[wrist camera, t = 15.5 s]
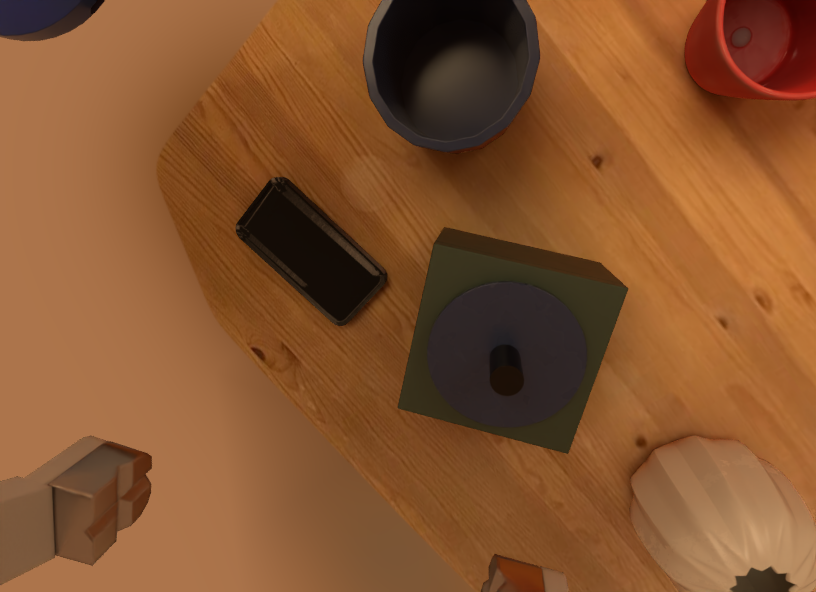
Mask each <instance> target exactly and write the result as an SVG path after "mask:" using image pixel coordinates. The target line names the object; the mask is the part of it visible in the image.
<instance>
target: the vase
mask: <svg viewBox="0 0 816 592" xmlns="http://www.w3.org/2000/svg"><path fill="white" fill-rule="evenodd" d="M630 482H631V486H632V490H633V493H634V496H633V499H632V503H631V506H630V517H631V521H632V524H633V526H634V529H635V531H636V533H637V535H638V536H639V538H640V540H641V542H642V543H643V545H644V546H645V548H646V549H647V550H648V552H649V553H650V555H651V556H652V558H653V559H654V560H655V561H656V563H657V564H658V565H659V566H660V567H661V569H663V570H664V571H665V573H666V574H667V576H668V577H669V578H670V580H671V581H672V583H673V584H674V586H675V587H676V588H677V589H678V591H679V592H812V591H813V590H814V589H815V587H816V525H815V522H814V520H813V517H812V515H811V513H810V511H809V509H808V508H807V506H806V504H805V503H804V501H803V499H802V497H801V496H800V494H799V493H798V491H797V490H796V489H795V487H794V486H793V484H792V483H791V482H790V480H789V479H788V478H787V477H786V476H785V475H784V474H783V473H782V472H781V471H780V470H778V469H777V468H776V467H774V466H773V465H771V464H770V463H769V462H766V461H764V460H762V459H759V458H757V457H756V456H755V455H754V454H753V453H752V452H751V450H750V449H749V448H748V447H747V446H745V445H744V444H743V443H741V442H740V441H739V440H726V439H706V438H703V437H700V436H695V435H693V436H690V437H686V438H683V439H680V440H677V441H674V442H672V443H668V444H666V445H663V446H661V447H659V448H657V449H655V450H653V452H652V453H651V454H650V456H649V457H648V459H647V460H646V461H645V462H644V463H643V464H642V465H641V466H640V467H639V468H638V470H637V471H636V472H635V473H634V474H633V476H632V477H631V478H630Z"/></svg>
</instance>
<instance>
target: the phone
mask: <svg viewBox="0 0 816 592" xmlns="http://www.w3.org/2000/svg"><path fill="white" fill-rule="evenodd" d="M236 233H237V235H238V237H239V238H240V239H241V240H242V241H243V242H244V243H246V244H247V245H248V246H249V247H250V248H251V249H252V250H253V251H254V252H255V253H257V254H258V255H259V256H260V257H261V258H262V259H263V260H264V261H265V262H266V263H268V264H269V265H270V266H271V267H272V268H273V269H274V270H275V271H276V272H277V273H278V274H280V275H281V276H282V277H283V278H284V279H285V280H286V281H287V282H288V283H289V284H291V285H292V286H293V287H294V288H295V289H296V290H297V291H298V292H299V293H300V294H301V295H303V296H304V297H305V298H306V299H307V300H308V301H309V302H310V303H311V304H312V305H314V306H315V307H316V308H317V309H318V310H319V311H320V312H321V313H322V314H323V315H324V316H326V317H327V318H328V319H329V320H330V321H331V322H332V323H334V324H335V325H338V326H343V325H346V324H347V323H348V322H349V321H350V320H351V319H352V318H353V317H354V316H355V315H356V314H357V313H358V312H359V311H360V310H361V309H362V307H363V306H364V305H365V304H366V303H367V302H368V301H369V300H370V299H371V298H372V297H373V296H374V295H375V294H376V293H377V292H378V291H379V290H380V288H381V287H382V286H383V285H384V284H385V282H386V280H387V273H386V271H385V270H384V268H383V267H382V266H381V265H379V264H378V263H377V262H376V261H375V260H374V259H373V258H372V257H371V256H370V255H369V254H368V253H367V252H366V251H364V250H363V249H362V248H361V247H360V246H359V245H358V244H357V243H356V242H355V241H354V240H353V239H352V238H351V237H350V236H348V235H347V234H346V233H345V232H344V231H343V230H342V229H341V228H340V227H339V226H338V225H337V224H336V223H335V222H333V221H332V220H331V219H330V218H329V217H328V216H327V215H326V214H325V213H324V212H323V211H322V210H321V209H320V208H318V207H317V206H316V205H315V204H314V203H313V202H312V201H311V200H310V199H309V198H308V197H307V196H306V195H305V194H304V193H302V192H301V191H300V190H299V189H298V188H297V187H296V186H295V185H294V184H293V183H292V182H291V181H290V180H288V179H287V178H284V177H276V178H272V179H271V180H270V181H269V182H268V183H267V184H266V186H265V187H264V188H263V190H262V191H261V192H260V193H259V195H258V196H257V197H256V199H255V200H254V201H253V203H252V204H251V205H250V207H249V208H248V209H247V211H246V212H245V213H244V214H243V216H242V217H241V218H240V220H239V221H238V222H237V224H236Z"/></svg>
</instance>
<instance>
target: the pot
mask: <svg viewBox="0 0 816 592" xmlns="http://www.w3.org/2000/svg"><path fill="white" fill-rule="evenodd" d="M535 18H536V17H535V15H534V13H533V11H532V10H531V8H530V6H529V4H528V2H527V1H526V0H382V1H381V3H380V4H379V6H378V8H377V10H376V12H375V14H374V15H373V17H372V19H371V21H370V23H369V25H368V30H367V36H366V43H365V49H364V56H363V66H364V71H365V76H366V81H367V86H368V92H369V96H370V99H371V101H372V102H373V104H374V105H375V107H376V108H377V110H378V112H379V113H380V115H381V116H382V118H383V120H384V121H385V123H386V124H387V126H388V127H389V128H391V129H392V130H393V131H395V132H396V133H398V134H399V135H400V136H402V137H403V138H405V139H406V140H407V141H409V142H410V143H412V144H413V145H415V146H419V147H423V148H428V149H433V150H437V151H442V152H447V153H453V154H459V153H464V152H469V151H473V150H478V149H482V148H483V147H485V146H486V145H488V144H489V143H491V142H492V141H494V140H495V139H497V138H498V137H500V136H501V135H503V134H504V132H505V131H506V130H507V128H508V127H509V125H510V124H511V122H512V121H513V120H514V118H515V117H516V115H517V114H518V112H519V111H520V110H521V108H522V107H523V105H524V104H525V102H526V101H527V99H528V98H529V96H530V94H531V91H532V87H533V83H534V80H535V76H536V72H537V68H538V64H539V60H540V49H539V40H538V31H537V22H536V19H535Z"/></svg>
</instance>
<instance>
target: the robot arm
mask: <svg viewBox="0 0 816 592" xmlns="http://www.w3.org/2000/svg"><path fill="white" fill-rule="evenodd" d="M151 468H152V457H151V456H150V455H149V454H147V453H145V452H142V451H138V450H136V449H132V448H129V447H126V446H123V445H120V444H117V443H114V442H109V441H106V440H103V439H100V438H96V437H94V436H88V437H83V438H82V439H80V440H79V441H77V442H76V443H75V444H73V445H71V446H70V447H68V448H67V449H66V450H64V451H63V452H61V453H60V454H58V455H57V456H55V457H54V458H52V459H51V460H50V461H48V462H47V463H45V464H44V465H42V466H41V467H40V468H38V469H37V470H35V471H34V472H32V473H31V474H29V475H28V476H26V477H25V478H21V477H18V476H17V477H14V478H10V479H7V480H3V481H0V585H2V584H4V583H6V582H8V581H10V580H12V579H13V578H16V577H18V576H20V575H21V574H24V573H25V572H27V571H29V570H31V569H33V568H35V567H37V566H39V565H41V564H43V563H45V562H47V561H49V560H51V559H53V558H55V555H57V556H60V557H64V558H67V559H71V560H74V561H78V562H81V563H85V564H89V565H93V564H94V563H95V562H96V561H97V560H98V559H99V558H100V557H101V556H102V555H103V554H104V553H105V552H106V551H107V550H108V549H109V548H110V547H111V546H112V545H113V544H114V543H115V542H116V538H117V531H120V530H122V529H124V528H127V527H129V526H131V525H132V524H133V523H134V522H135V521H136V520H137V519H138V518H139V517H140V515H141V514H142V512H143V510H144V509H145V507H146V505H147V503H148V500H149V497H150V494H151V483H150V481H149V479H148V478H147V476H146V473H147V472H148V471H149V470H150V469H151ZM481 592H569V589H568V584H567V579H566V576H565V575H564V573H563V572H559V571H555V570H552V569H548V568H544V567H541V566H540V567H539V566H537V565H533V564H529V563H526V562H522V561H519V560H515V559H512V558H508V557H504V556H501V555H497V554H494V555H493V557H492V559H491V562H490V565H489V579H488V580H487V581H485V582H484V583H483V586H482V589H481Z"/></svg>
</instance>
